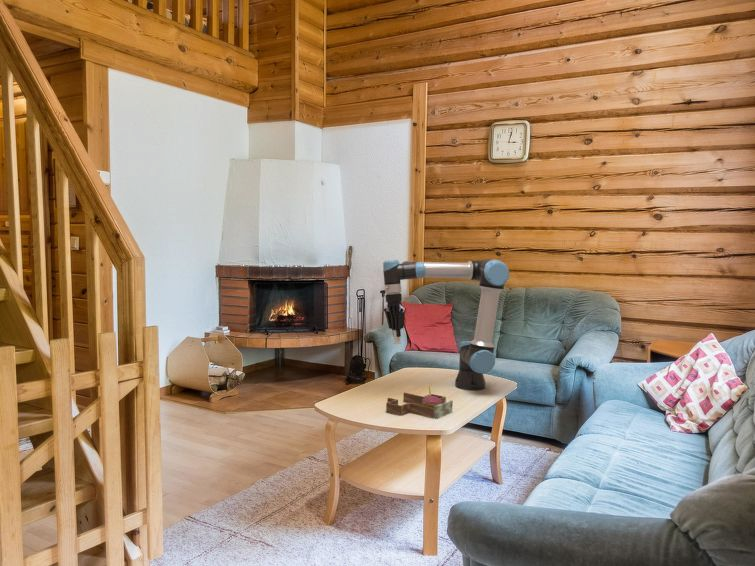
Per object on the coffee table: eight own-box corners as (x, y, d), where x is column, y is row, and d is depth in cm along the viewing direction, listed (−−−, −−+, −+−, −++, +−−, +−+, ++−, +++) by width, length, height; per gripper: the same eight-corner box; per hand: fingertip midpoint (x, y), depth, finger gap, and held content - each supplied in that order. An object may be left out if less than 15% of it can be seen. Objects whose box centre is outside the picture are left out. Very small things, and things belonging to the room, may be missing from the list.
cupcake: (417, 411, 254) (418, 384, 253) (430, 408, 260) (431, 381, 259) (432, 416, 248) (433, 388, 247) (445, 413, 253) (446, 385, 252)
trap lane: (412, 398, 275) (413, 387, 275) (460, 409, 260) (460, 397, 260) (378, 410, 255) (378, 398, 255) (426, 422, 239) (427, 410, 239)
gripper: (378, 294, 280) (382, 344, 281) (397, 293, 270) (401, 345, 271) (389, 293, 285) (393, 342, 285) (408, 292, 275) (413, 343, 276)
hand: (397, 343), depth 278 cm, fingers closed
